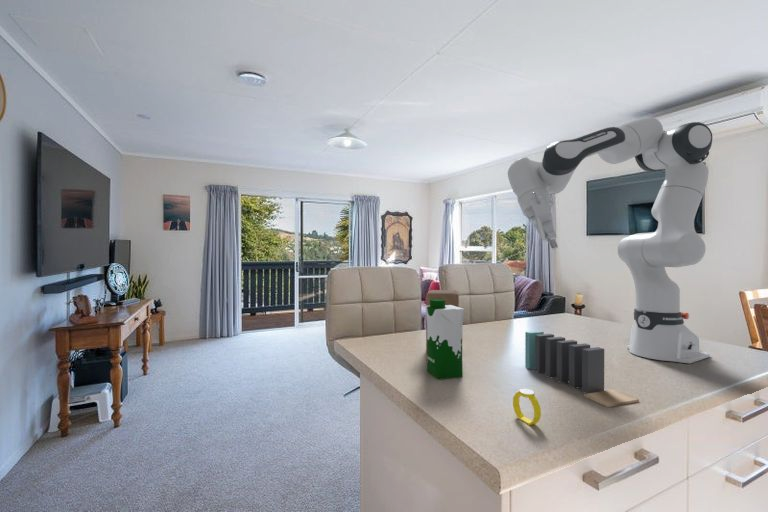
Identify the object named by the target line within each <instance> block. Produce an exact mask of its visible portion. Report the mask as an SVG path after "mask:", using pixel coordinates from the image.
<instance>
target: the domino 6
mask: <svg viewBox="0 0 768 512" xmlns="http://www.w3.org/2000/svg"><path fill="white" fill-rule="evenodd" d="M600 391H605V348H604V347H603V348H602V347H599V346H598V347H597V346H596V347H590V348H587V349H582V387H581V392H582V393H584V394H588V393H594V392H600Z"/></svg>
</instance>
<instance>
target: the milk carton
mask: <svg viewBox="0 0 768 512" xmlns="http://www.w3.org/2000/svg"><path fill="white" fill-rule="evenodd" d="M425 313H426V314H425V316H426V315H427V353H426V371H427V372H428V374H431V376H433V377H434V378H436V379H437V380H445V379H455V378H456V379H457V378H463V375H464V374H463V321H464V313H465V308H463V307H456V306H453V305H445V300H444V299H430V306H426V305H425Z"/></svg>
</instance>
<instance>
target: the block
mask: <svg viewBox="0 0 768 512" xmlns="http://www.w3.org/2000/svg"><path fill="white" fill-rule="evenodd" d="M425 297H426V298H425V301H426V302H425V304H426V305H425V307H426V306H430V299H444V300H445V305H453V306H456V307H459V303H460V302H459V300H460V299H459V298H460V297H459V291H458V290H451V289H450V290H448V289H445V290H444V289H431V290H428V292H427V293H426V295H425ZM459 308H460V307H459ZM425 317H426V320H425V322H426V323H425V324H426V326H425V331H426V332H425V339H426V341H425V342H426V343H425V344H426V345H425V346H426V348H425V350H426V351H425V352H426V354H427V315H426V314H425Z"/></svg>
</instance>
